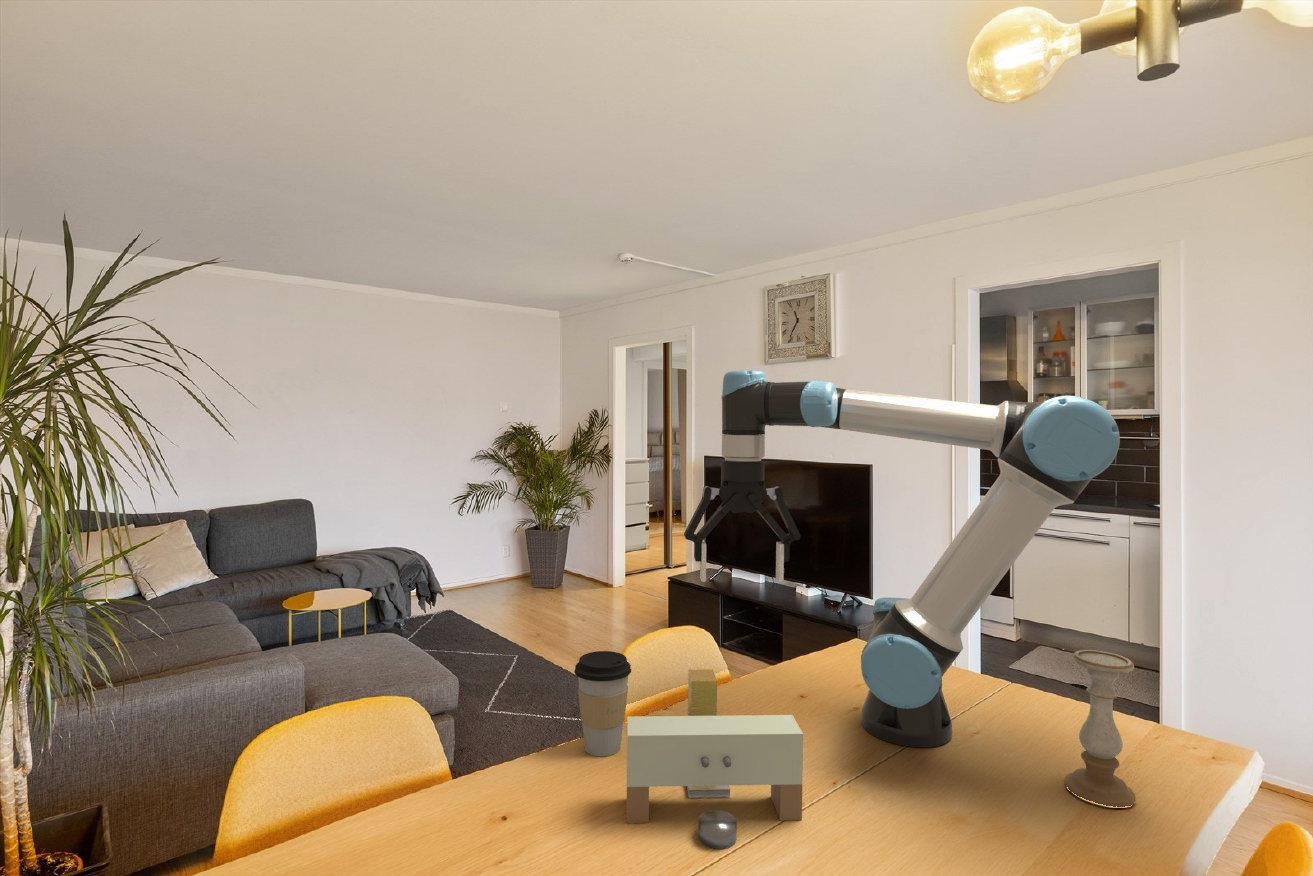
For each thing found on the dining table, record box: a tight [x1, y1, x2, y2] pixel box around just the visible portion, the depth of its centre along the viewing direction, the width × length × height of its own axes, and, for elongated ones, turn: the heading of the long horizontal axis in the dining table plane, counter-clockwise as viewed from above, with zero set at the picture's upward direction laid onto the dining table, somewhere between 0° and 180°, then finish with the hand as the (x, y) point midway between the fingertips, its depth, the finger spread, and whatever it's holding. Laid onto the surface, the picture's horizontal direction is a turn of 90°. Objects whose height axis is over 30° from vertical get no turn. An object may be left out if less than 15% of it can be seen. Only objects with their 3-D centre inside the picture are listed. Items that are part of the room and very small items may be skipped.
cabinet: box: [626, 714, 804, 824], centre depth 96 cm, size 24×7×12 cm, turn 93°
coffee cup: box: [573, 650, 632, 758], centre depth 114 cm, size 9×9×15 cm
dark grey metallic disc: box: [697, 809, 738, 851], centre depth 90 cm, size 5×5×2 cm
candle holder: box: [1064, 649, 1136, 807], centre depth 101 cm, size 9×9×20 cm
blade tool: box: [686, 669, 731, 799], centre depth 106 cm, size 6×13×14 cm, turn 3°
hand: (741, 580), depth 121 cm, fingers open, 13 cm apart
